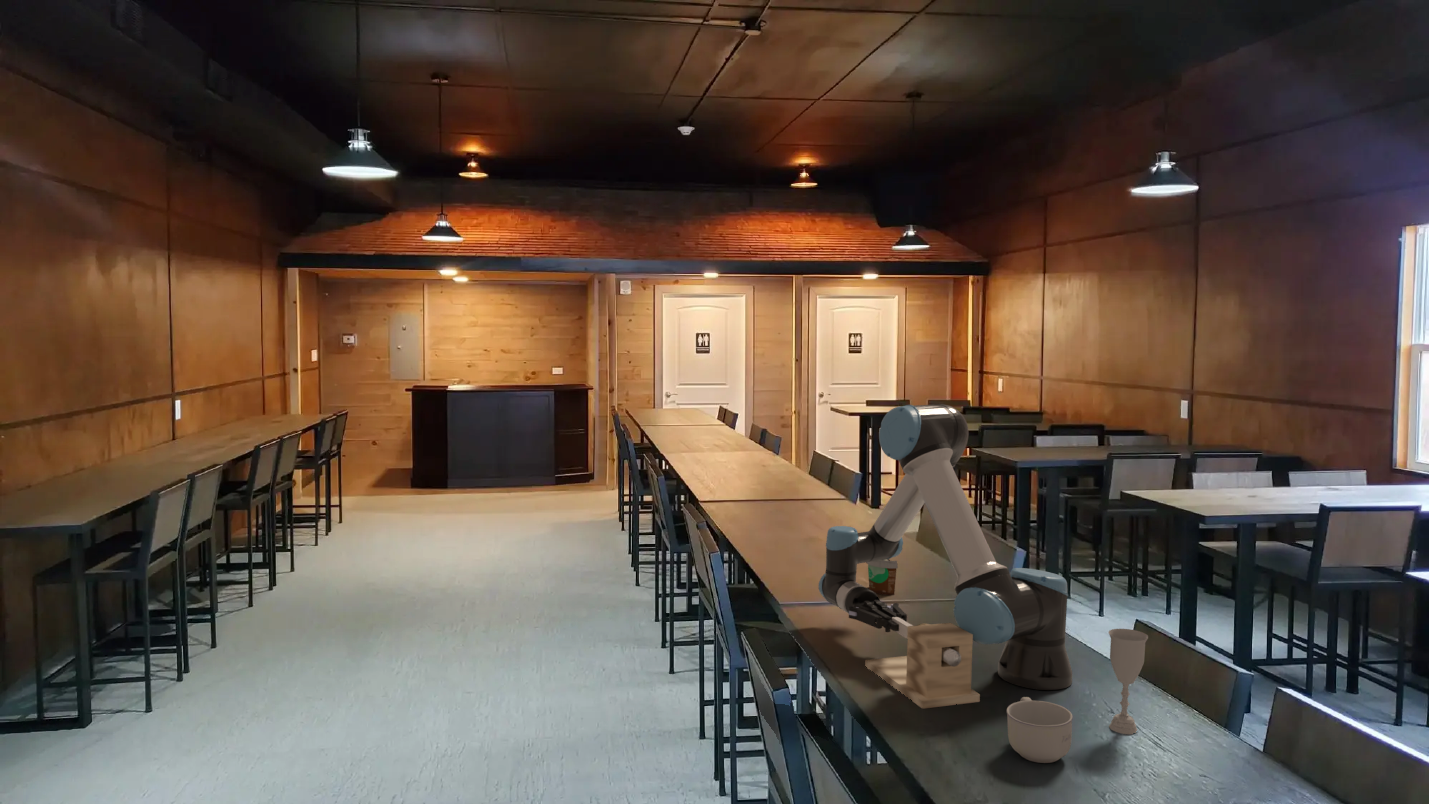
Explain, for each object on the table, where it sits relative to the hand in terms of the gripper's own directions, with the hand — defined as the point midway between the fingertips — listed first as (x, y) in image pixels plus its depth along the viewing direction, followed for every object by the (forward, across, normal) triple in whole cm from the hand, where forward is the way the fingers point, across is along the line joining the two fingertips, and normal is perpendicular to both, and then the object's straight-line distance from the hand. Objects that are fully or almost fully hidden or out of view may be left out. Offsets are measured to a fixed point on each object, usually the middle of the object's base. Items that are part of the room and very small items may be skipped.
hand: (909, 632), depth 199 cm
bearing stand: (+3, 0, -10) cm, 10 cm away
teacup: (+38, -3, -10) cm, 40 cm away
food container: (-62, -26, -10) cm, 68 cm away
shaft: (+11, 0, -4) cm, 11 cm away
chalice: (+35, -25, -10) cm, 44 cm away
